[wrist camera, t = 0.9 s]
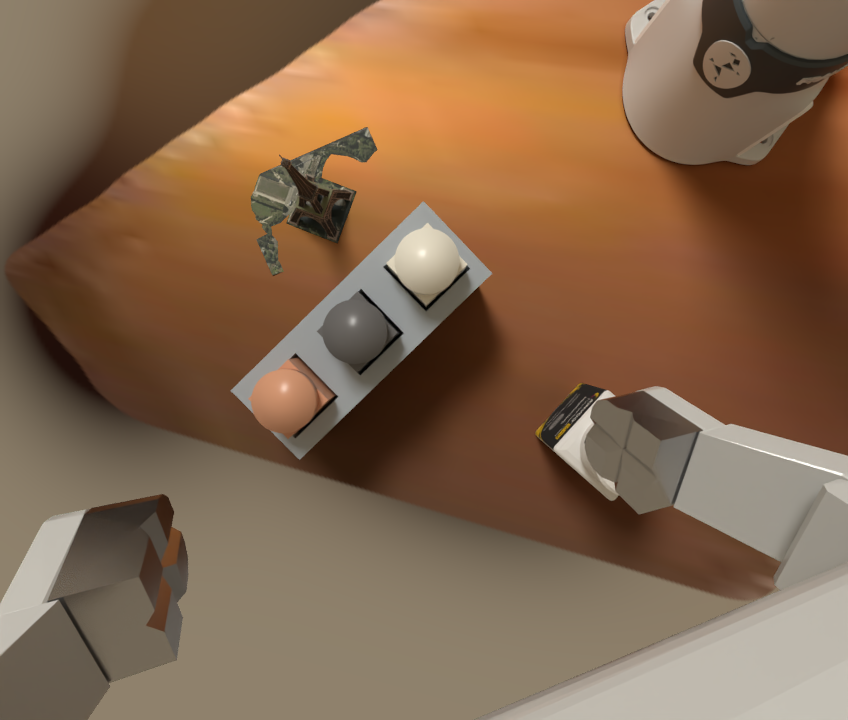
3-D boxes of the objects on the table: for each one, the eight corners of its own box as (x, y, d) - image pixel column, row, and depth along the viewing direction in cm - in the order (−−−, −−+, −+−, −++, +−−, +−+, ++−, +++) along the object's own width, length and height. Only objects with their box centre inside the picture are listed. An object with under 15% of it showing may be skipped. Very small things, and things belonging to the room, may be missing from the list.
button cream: (427, 237, 41) (427, 214, 33) (463, 276, 41) (472, 261, 33) (389, 274, 41) (381, 260, 33) (425, 313, 41) (426, 307, 33)
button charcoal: (367, 295, 41) (354, 285, 33) (404, 333, 41) (400, 332, 33) (330, 332, 41) (308, 331, 33) (367, 370, 41) (354, 377, 33)
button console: (423, 228, 45) (423, 201, 36) (478, 286, 45) (492, 273, 36) (268, 380, 46) (230, 390, 37) (323, 436, 46) (299, 459, 37)
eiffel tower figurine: (369, 126, 45) (345, 37, 32) (409, 220, 45) (403, 171, 32) (234, 187, 45) (154, 124, 32) (275, 279, 46) (214, 255, 32)
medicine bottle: (579, 381, 46) (635, 396, 34) (631, 427, 46) (704, 458, 34) (533, 432, 46) (571, 466, 34) (584, 478, 46) (640, 527, 34)
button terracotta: (309, 352, 41) (283, 356, 33) (346, 390, 41) (328, 402, 34) (272, 389, 41) (237, 400, 34) (309, 426, 41) (283, 446, 34)
